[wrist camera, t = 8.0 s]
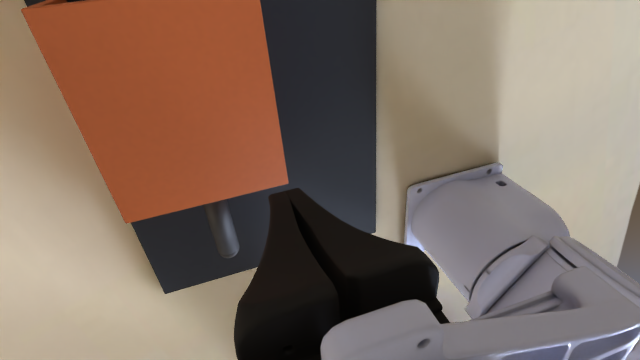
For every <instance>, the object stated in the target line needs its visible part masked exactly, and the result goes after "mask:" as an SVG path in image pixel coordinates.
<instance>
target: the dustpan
mask: <svg viewBox="0 0 640 360" xmlns="http://www.w3.org/2000/svg"><path fill="white" fill-rule="evenodd" d="M21 11H22V13H23V15H24V17H25V19H26V22H27V24H28V26H29V28H30V30H31V32H32V34H33V36H34V38H35V40H36V42H37V44H38V46H39V48H40V50H41V52H42V54H43V56H44V58H45V60H46V62H47V64H48V66H49V68H50V70H51V72H52V74H53V77H54V79H55V81H56V83H57V85H58V87H59V89H60V91H61V93H62V95H63V97H64V99H65V101H66V103H67V105H68V107H69V109H70V111H71V113H72V115H73V117H74V119H75V121H76V123H77V125H78V127H79V129H80V132H81V134H82V136H83V138H84V140H85V142H86V144H87V146H88V148H89V150H90V152H91V154H92V156H93V158H94V160H95V162H96V164H97V166H98V168H99V170H100V172H101V174H102V176H103V178H104V180H105V182H106V185H107V187H108V189H109V191H110V193H111V195H112V197H113V199H114V201H115V203H116V205H117V207H118V209H119V211H120V213H121V215H122V217H123V219H124V221H125V223H126V224H127V223H131V222H135V221H139V220H143V219H147V218H151V217H155V216H159V215H163V214H167V213H171V212H175V211H179V210H183V209H187V208H192V207H196V206H200V205H203V207H204V210H205V213H206V216H207V219H208V222H209V225H210V229H211V232H212V235H213V238H214V241H215V244H216V247H217V250H218V252H219V254H220V255H221V256H222V257H224V258H231V257H234V256H235V255H236V254H237V253H238V251H239V242H238V238H237V235H236V231H235V228H234V224H233V220H232V217H231V213H230V210H229V206H228V202H227V199H228V198H232V197H236V196H240V195H244V194H248V193H252V192H256V191H260V190H264V189H268V188H272V187H277V186H281V185H285V184H288V176H287V170H286V163H285V157H284V151H283V144H282V138H281V131H280V125H279V119H278V112H277V106H276V99H275V93H274V87H273V80H272V74H271V68H270V61H269V55H268V48H267V42H266V36H265V29H264V23H263V16H262V10H261V4H260V0H85V1H76V2H67V0H46V1H43V2H40V3H37V4H34V5H32V6H29V7H26V8H23V9H21Z"/></svg>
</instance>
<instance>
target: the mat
mask: <svg viewBox="0 0 640 360" xmlns="http://www.w3.org/2000/svg"><path fill="white" fill-rule="evenodd" d="M24 1H25V3H26V5H27V7H29V6H32V5H34V4H37V3H40V2H43V1H46V0H24ZM76 1H85V0H67V2H76ZM260 4H261V10H262V16H263V23H264V29H265V36H266V42H267V48H268V55H269V61H270V68H271V74H272V80H273V87H274V93H275V99H276V106H277V112H278V119H279V125H280V131H281V138H282V144H283V151H284V157H285V163H286V170H287V176H288V184H285V185H281V186H277V187H272V188H268V189H264V190H260V191H256V192H252V193H248V194H244V195H240V196H236V197H232V198H228V199H227V202H228V206H229V210H230V213H231V217H232V220H233V224H234V228H235V231H236V235H237V238H238V242H239V251H238V253H237V254H236V255H235V256H234V257H231V258H224V257H222V256H221V255H220V254H219V252H218V250H217V247H216V244H215V241H214V238H213V235H212V232H211V229H210V225H209V222H208V219H207V216H206V213H205V210H204V207H203V205H200V206H196V207H192V208H187V209H183V210H179V211H175V212H171V213H167V214H163V215H159V216H155V217H151V218H147V219H143V220H139V221H135V222H131V224H132V226H133V228H134V230H135V232H136V235H137V237H138V239H139V241H140V243H141V245H142V247H143V249H144V251H145V253H146V255H147V257H148V260H149V262H150V264H151V266H152V268H153V270H154V272H155V274H156V276H157V278H158V280H159V282H160V285H161V287H162V289H163V291H164V293H165V294H167V293H171V292H174V291H177V290H181V289H184V288H188V287H191V286H194V285H198V284H201V283H205V282H208V281H211V280H215V279H218V278H222V277H225V276H228V275H232V274H235V273H239V272H242V271H246V270H249V269H252V268H256V267H258V266H259V263H260V261H261V258H262V255H263V252H264V248H265V245H266V241H267V236H268V230H269V223H270V205H269V199H268V197H269V196H270V194H274V193H279V192H283V191H287V190H291V189H295V188H300V189H301V190H302V191H304V192H305V193H306V194H307V195H308V196H309V197H310V198H312V199H313V200H314V201H315V202H316V203H318V204H319V205H320V206H322V207H323V208H324V209H326V210H327V211H328V212H330V213H331V214H333V215H334V216H336V217H337V218H339V219H340V220H342V221H344V222H346V223H347V224H349V225H351V226H353V227H355V228H357V229H359V230H362V231H364V232H366V233H369V234H372V233H375V232H376V0H260Z"/></svg>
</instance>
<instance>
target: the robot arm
mask: <svg viewBox="0 0 640 360" xmlns="http://www.w3.org/2000/svg"><path fill="white" fill-rule="evenodd" d="M502 169H503V165H502V164H501V163H499V162H497V163H493V164H489V165H486V166H482V167H478V168H474V169H471V170H467V171H463V172H459V173H456V174H452V175H448V176H445V177H441V178H437V179H433V180H430V181H426V182H422V183H419V184H415V185H412V186H410V187H409V188H408V190H407V203H406V220H405V236H404V244H401V243H397V242H393V241H390V240H386V239H383V238H380V237H377V236H374V235H372V234H369V233H366V232H364V231H362V230H359V229H357V228H355V227H353V226H351V225H349V224H347V223H346V222H344V221H342V220H340V219H339V218H337V217H336V216H334V215H333V214H331V213H330V212H328V211H327V210H326V209H324V208H323V207H322V206H320V205H319V204H318V203H316V202H315V201H314V200H313V199H312V198H310V197H309V196H308V195H307V194H306V193H305V192H304V191H302V190H301V189H300V188H295V189H291V190H287V191H283V192H279V193H274V194H270V196H269V197H268V199H269V205H270V223H269V230H268V236H267V241H266V245H265V248H264V252H263V255H262V258H261V261H260V263H259V266H258V268H257V271H256V273H255V275H254V277H253V279H252V281H251V283H250V285H249V287H248V288H247V290H246V292H245V293H244V295H243V296H242V298H241V299H240V301H239V303H238V307H237V312H236V318H235V326H234V342H235V349H236V355H237V359H238V360H640V284H639V283H637V282H636V281H635V280H633V279H632V278H630V277H629V276H628V275H626V274H625V273H624V272H622V271H621V270H619V269H618V268H617V267H615V266H614V265H612V264H611V263H609V262H608V261H607V260H605V259H604V258H602V257H601V256H599V255H598V254H596V253H595V252H593V251H592V250H590V249H589V248H587V247H586V246H584V245H583V244H581V243H580V242H578V241H576V240H575V239H573V238H571V237H570V234H569V231H568V229H567V227H566V225H565V223H564V222H563V220H562V218H561V217H560V216H559V215H558V213H557V212H556V211H555V210H554V209H553V208H551V207H550V206H549V205H547V204H546V203H544V202H543V201H541V200H540V199H538V198H537V197H536V196H534V195H533V194H531V193H530V192H528V191H527V190H525V189H524V188H522V187H521V186H519V185H518V184H516V183H515V182H514V181H512V180H511V179H509V178H508V177H506V176H505V175H503V174H502ZM419 188H420V189H419ZM418 189H419V190H418ZM424 250H426V251H427V253H428V254H429V255H430V256H431V257H432V259H433V260H434V261H435V262H436V263H437V265H438V266H439V267H440V268H441V269H442V271H443V272H444V273H445V274H446V276H447V277H448V278H449V279H450V280H451V282H452V283H453V284H454V285H455V286H456V288H457V289H458V290H459V291H460V292H461V294H462V295H463V296H464V297H465V298H466V300H467V301H468V302H469V304H468V305H467V306H466V307H465V311H466V312H467V313H468V315H469V316H470V317H471V318H472V320H469V321H464V322H455V323H450V322H449V321H448V319H447V318H446V316H445V315H444V314H443V312H442V311H441V310H442V308H443V307H442V305H441V303H440V302H439V301H438V299H437V298H436V296H437V289H438V283H439V272H438V270H437V267H436V266H435V265H434V263H433V262H432V261H431V260H430V259H429V258H428V256H427V255H426V254H425V253H424V252H422V251H424Z"/></svg>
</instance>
